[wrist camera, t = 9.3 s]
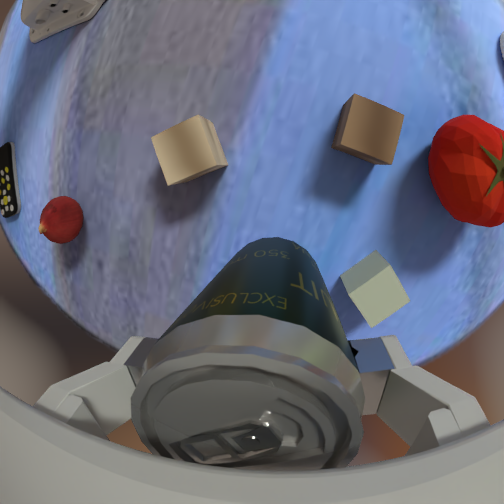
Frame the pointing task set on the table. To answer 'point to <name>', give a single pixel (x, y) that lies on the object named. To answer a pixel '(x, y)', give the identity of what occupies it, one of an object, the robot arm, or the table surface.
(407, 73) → the table surface
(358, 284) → the sage painted block
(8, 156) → the remote control
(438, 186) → the tomato
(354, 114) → the walnut block
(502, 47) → the plastic lid
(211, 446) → the beer can
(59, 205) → the onion
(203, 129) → the beech block
